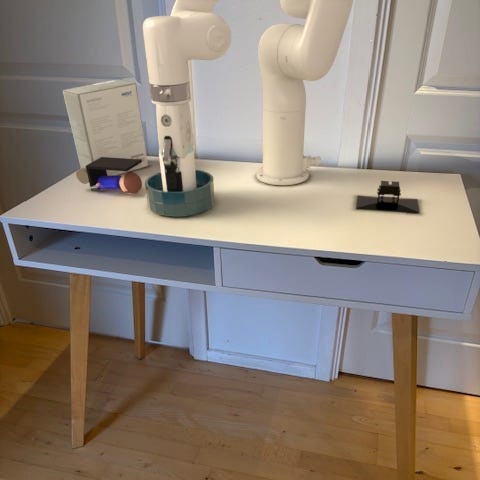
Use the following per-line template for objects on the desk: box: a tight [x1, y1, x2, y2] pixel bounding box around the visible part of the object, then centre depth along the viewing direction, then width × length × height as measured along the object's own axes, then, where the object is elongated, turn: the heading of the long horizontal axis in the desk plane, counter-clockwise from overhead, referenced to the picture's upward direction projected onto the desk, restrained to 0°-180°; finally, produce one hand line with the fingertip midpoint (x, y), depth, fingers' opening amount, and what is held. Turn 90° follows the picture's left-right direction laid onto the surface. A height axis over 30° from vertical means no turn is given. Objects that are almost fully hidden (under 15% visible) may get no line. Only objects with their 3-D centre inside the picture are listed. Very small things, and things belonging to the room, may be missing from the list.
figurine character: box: [75, 157, 143, 195], centre depth 112 cm, size 7×8×15 cm
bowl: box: [144, 168, 216, 217], centre depth 104 cm, size 14×14×6 cm
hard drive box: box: [62, 78, 149, 176], centre depth 120 cm, size 16×8×20 cm, turn 133°
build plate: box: [355, 180, 420, 215], centre depth 101 cm, size 12×7×5 cm, turn 76°
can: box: [158, 142, 197, 191], centre depth 102 cm, size 7×7×12 cm
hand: (179, 183), depth 103 cm, fingers closed on can, 7 cm apart
